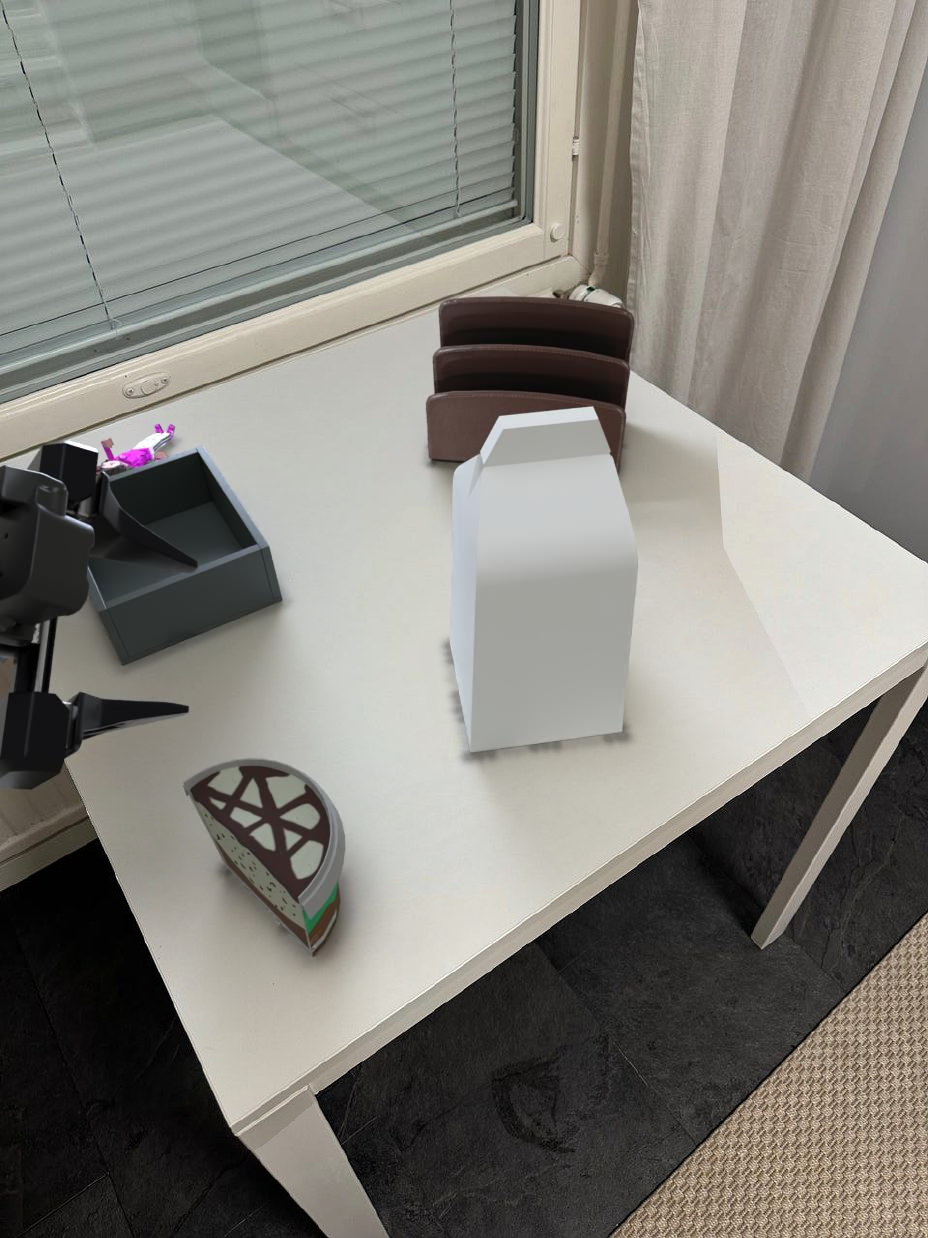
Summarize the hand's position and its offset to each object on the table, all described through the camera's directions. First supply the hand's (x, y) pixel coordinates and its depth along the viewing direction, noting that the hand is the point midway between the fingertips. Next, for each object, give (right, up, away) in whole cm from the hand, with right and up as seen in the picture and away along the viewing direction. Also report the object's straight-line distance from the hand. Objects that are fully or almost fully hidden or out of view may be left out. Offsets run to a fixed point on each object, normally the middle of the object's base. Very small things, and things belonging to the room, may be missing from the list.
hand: (191, 637), depth 54 cm
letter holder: (+23, +20, +42) cm, 52 cm away
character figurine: (-17, +17, +39) cm, 46 cm away
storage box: (-10, +5, +28) cm, 31 cm away
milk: (+22, -4, +19) cm, 30 cm away
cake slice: (+5, -17, +8) cm, 20 cm away
